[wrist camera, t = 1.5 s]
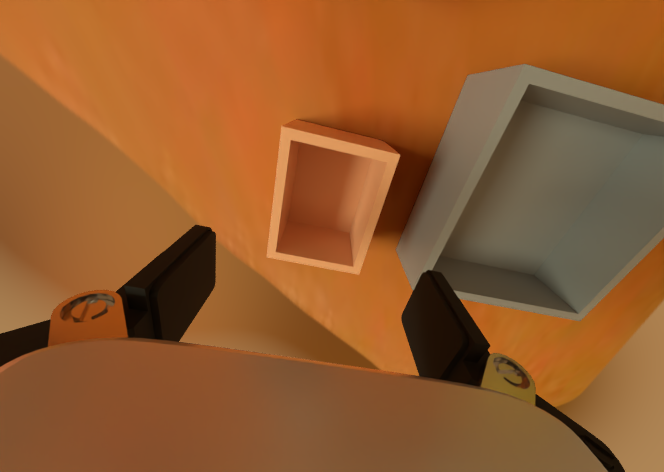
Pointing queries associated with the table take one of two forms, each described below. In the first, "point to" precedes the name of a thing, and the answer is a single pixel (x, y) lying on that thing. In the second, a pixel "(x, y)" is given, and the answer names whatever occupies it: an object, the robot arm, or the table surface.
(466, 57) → the table surface
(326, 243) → the terracotta crate
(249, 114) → the table surface
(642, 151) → the grey crate
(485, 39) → the table surface
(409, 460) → the robot arm
